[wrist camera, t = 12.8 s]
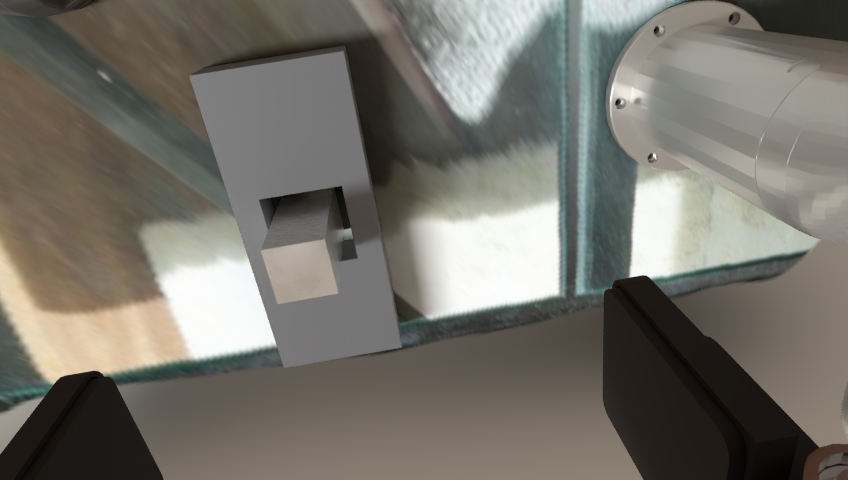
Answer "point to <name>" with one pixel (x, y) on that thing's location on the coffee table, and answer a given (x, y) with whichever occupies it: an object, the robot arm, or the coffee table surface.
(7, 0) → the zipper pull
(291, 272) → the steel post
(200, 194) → the coffee table surface
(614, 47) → the coffee table surface
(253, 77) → the grey block with hole
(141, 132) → the coffee table surface
